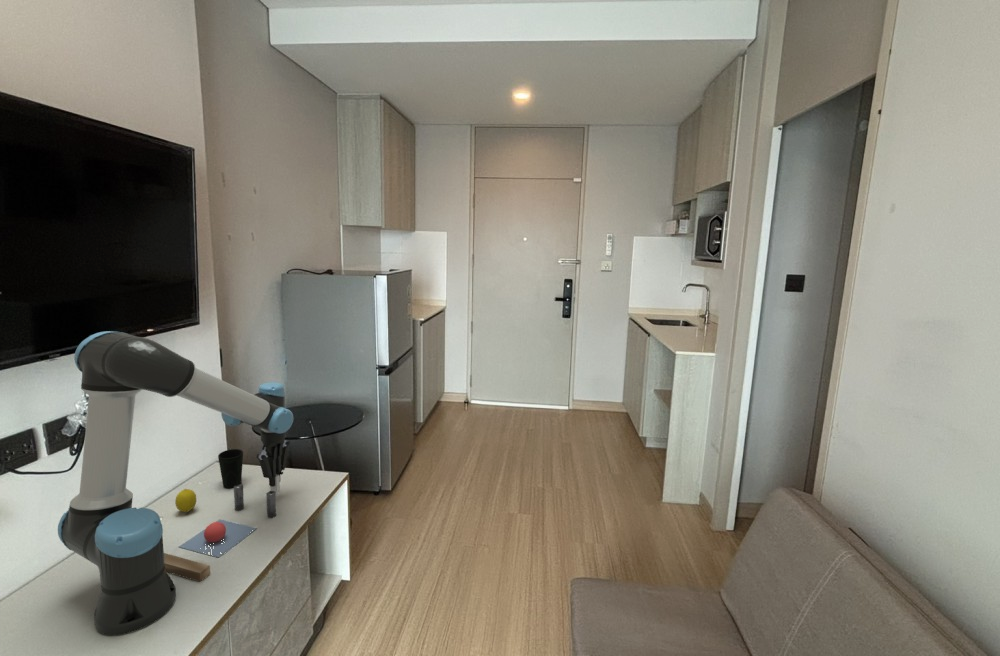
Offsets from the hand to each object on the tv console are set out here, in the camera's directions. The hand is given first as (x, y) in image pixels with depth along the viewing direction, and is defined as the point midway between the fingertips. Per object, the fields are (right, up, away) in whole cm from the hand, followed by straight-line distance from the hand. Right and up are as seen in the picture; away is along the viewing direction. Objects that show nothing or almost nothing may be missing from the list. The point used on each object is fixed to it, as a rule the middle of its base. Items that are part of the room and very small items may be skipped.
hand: (275, 492), depth 156 cm
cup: (-19, 0, +7) cm, 20 cm away
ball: (-6, -3, -23) cm, 24 cm away
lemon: (-23, -3, -10) cm, 26 cm away
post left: (-8, -3, -7) cm, 11 cm away
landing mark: (-6, -5, -22) cm, 23 cm away
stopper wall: (-9, -8, -35) cm, 37 cm away
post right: (+4, -4, -10) cm, 11 cm away
